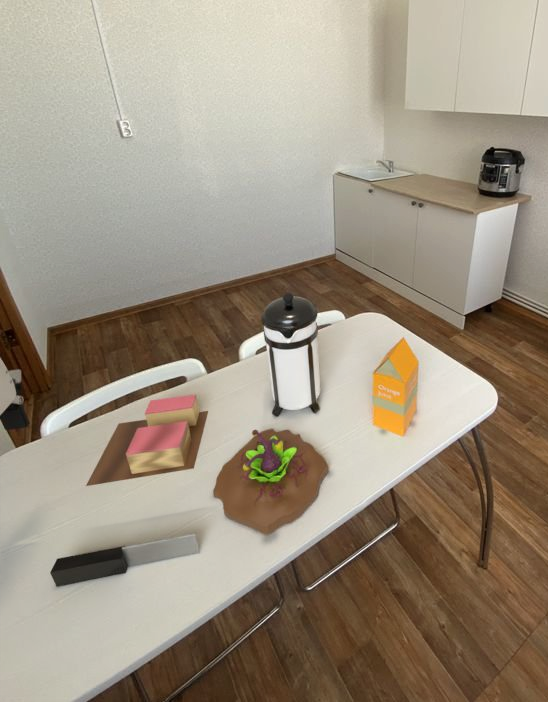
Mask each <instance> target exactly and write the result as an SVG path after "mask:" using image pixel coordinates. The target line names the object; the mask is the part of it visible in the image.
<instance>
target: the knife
mask: <svg viewBox="0 0 548 702" xmlns="http://www.w3.org/2000/svg"><path fill="white" fill-rule="evenodd" d="M195 554H200V546H199V543H198V538H197V535H196V532H193V533H188V534H182V535H177V536H173V537H167V538H162V539H156V540H151V541H146V542H141V543H135V544H130V545H122V546H115V547H111V548H106V549H100V550H96V551H95V550H94V551H90V552H85V553H79V554H74V555H69V556H63V557H58V558H56V561H55V562H54V564H53V566H52V568H51V570H50V572H49V574H50V577H51V578H52V580H53V583H54V584H55V587H56V588H59V587H64V586H69V585H74V584H79V583H83V582H88V581H89V582H90V581H94V580H98V579H104V578H109V577H114V576H118V575H123V574H127V571H128V568H131V567H136V566H140V565H141V566H142V565H146V564H151V563H156V562H161V561H165V560H171V559H175V558H181V557H186V556H190V555H195Z"/></svg>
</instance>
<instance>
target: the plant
mask: <svg viewBox="0 0 548 702" xmlns="http://www.w3.org/2000/svg"><path fill="white" fill-rule="evenodd" d="M251 436H253V437H252V438H251V439H250V440H249V441H248V442H247V443H246V444H245V445H244V446H242V447H241V448H240V449H239V450H238V451H237V452H236V453H235V454H234V455H233V456H232V457H231V458H230V460H228V461H227V462H225V463H224V464H223V465H222V467H221V470H220V472H219V473H218V475H217V477H216V480H215V485H214V488H213V490H212V493H213V497H214V498H216V499H219V500H220V501H221V502H222V506H223V512H224V516H225V518H227V519H228V520H231V521H234V522H236V523H238V524H240V525H243V526H245V527H248V528H250V529H252V530H253V531H256V532H258V533H260V534H263V535H266V536H268V535H270V534H272V533H274V532H276V531H277V530H278V529H280V528H281V527H283V526H285V525H289V524H292V523H294V522H295V521H297V520H298V519H299V518H300V517H302V515H303V514H304V513H305V512H306V511H307V510H308V509H309V508H310V506H311V505H312V504H313V503H314V502H315V501H316V499H318V497H319V490H320V486H321V484H322V482H323V480H324V478H325V477H326V476H327V474H328V473H329V464H328V463H327V461H326V460H325V458H324V457H323V455H321V454H320V453H319V452H318V451H317V450H316V448H315V447H314V446H313V445H312V444H311V443H309V442H307V441H304V440H303V439H302V437H301V434H300V433H293V432H292V430H289V429H284V430H281V431H280V430H279V431H276V430H275V429H274V428H269V429H266V430H262V431H260V432H259V430H258V429H253V430H252V432H251Z"/></svg>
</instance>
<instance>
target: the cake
mask: <svg viewBox="0 0 548 702" xmlns="http://www.w3.org/2000/svg"><path fill="white" fill-rule="evenodd" d="M199 412H200V413H199V416H198V420H197V423H196V425H194V426H188V422H187V421H184V422H177V423H170V424H163V425H156V426H149V427H148V423H147V420H146V419H140V420H134V421H127V422H120V423H118V424H117V425H116V428H115V430H114V431H113V433H112V435H111V437H110V439H109V440H108V443H107V445H106V447H105V448H104V450H103V452H102V454H101V456H100V458H99V460H98V461H97V464H96V466H95V468H94V469H93V471H92V474H91V475H90V477H89V479H88V480H87V483H86V485H85V486H86V487H89V486H95V485H102V484H108V483H114V482H119V481H127V480H132V479H138V478H145V477H150V476H151V477H152V476H157V475H163V474H169V473H175V472H180V471H188V470H194V469H195V465H196V461H197V457H198V453H199V449H200V446H201V442H202V438H203V433H204V429H205V426H206V422H207V418H208V415H209V410H205V411H199Z"/></svg>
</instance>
